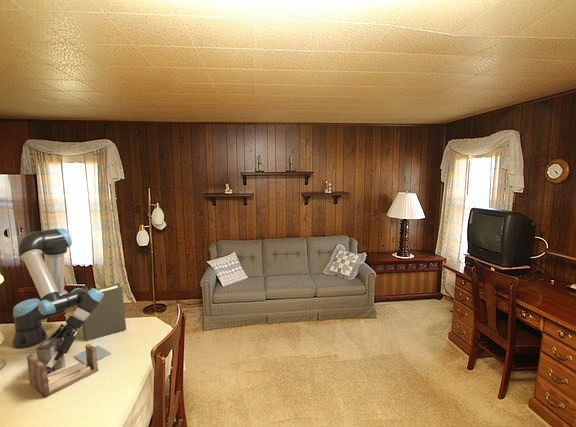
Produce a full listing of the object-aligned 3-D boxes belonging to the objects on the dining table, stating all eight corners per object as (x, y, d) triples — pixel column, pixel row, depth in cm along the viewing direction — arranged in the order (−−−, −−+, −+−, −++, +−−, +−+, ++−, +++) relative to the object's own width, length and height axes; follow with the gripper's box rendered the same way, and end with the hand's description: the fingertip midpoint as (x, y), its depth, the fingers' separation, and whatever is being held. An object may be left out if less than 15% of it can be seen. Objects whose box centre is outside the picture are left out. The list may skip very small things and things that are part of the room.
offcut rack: (30, 384, 143) (26, 356, 141) (82, 360, 161) (80, 334, 160) (45, 398, 135) (41, 367, 133) (98, 370, 153) (96, 344, 151)
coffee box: (52, 368, 155) (49, 337, 153) (65, 367, 155) (62, 337, 153) (39, 380, 146) (35, 348, 144) (53, 379, 146) (50, 347, 144)
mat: (73, 357, 164) (73, 355, 164) (97, 346, 174) (97, 345, 174) (87, 365, 157) (86, 364, 157) (111, 354, 167) (111, 353, 167)
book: (84, 342, 179) (79, 296, 175) (83, 335, 187) (78, 291, 183) (126, 330, 192) (121, 287, 188) (123, 324, 200) (119, 282, 195)
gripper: (95, 326, 155) (62, 373, 144) (73, 315, 167) (41, 357, 156) (82, 321, 150) (47, 368, 139) (61, 309, 162) (26, 352, 151)
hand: (44, 362), depth 147 cm, fingers closed on coffee box, 10 cm apart
